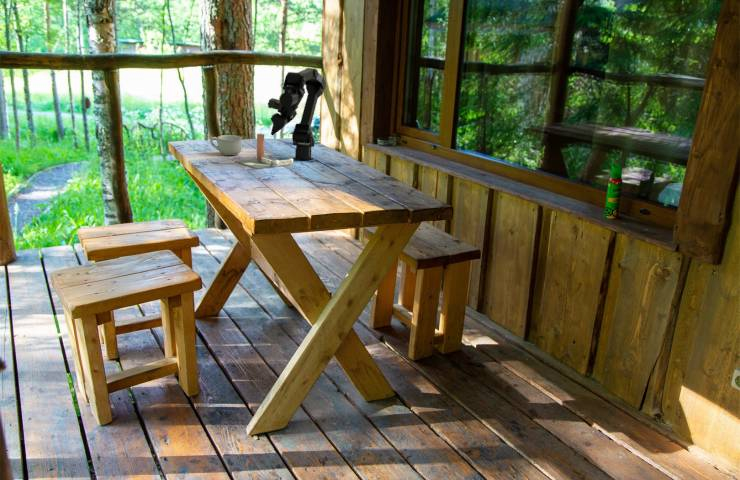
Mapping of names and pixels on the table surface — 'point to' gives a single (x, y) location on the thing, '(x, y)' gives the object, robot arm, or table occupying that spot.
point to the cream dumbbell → (283, 162)
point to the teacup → (228, 144)
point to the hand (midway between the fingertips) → (275, 131)
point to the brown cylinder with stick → (262, 150)
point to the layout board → (259, 163)
